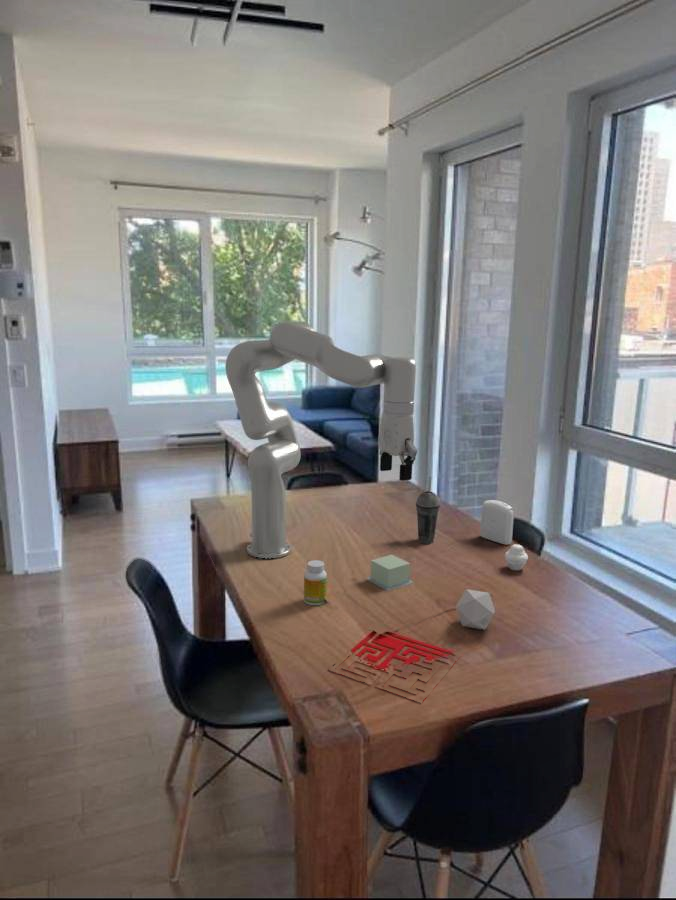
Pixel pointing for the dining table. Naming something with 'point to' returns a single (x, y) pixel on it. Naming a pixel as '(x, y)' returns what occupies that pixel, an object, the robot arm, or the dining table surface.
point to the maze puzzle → (395, 649)
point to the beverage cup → (427, 515)
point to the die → (475, 609)
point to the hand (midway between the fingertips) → (395, 475)
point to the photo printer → (497, 521)
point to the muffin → (516, 557)
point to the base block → (390, 571)
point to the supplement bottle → (315, 583)
